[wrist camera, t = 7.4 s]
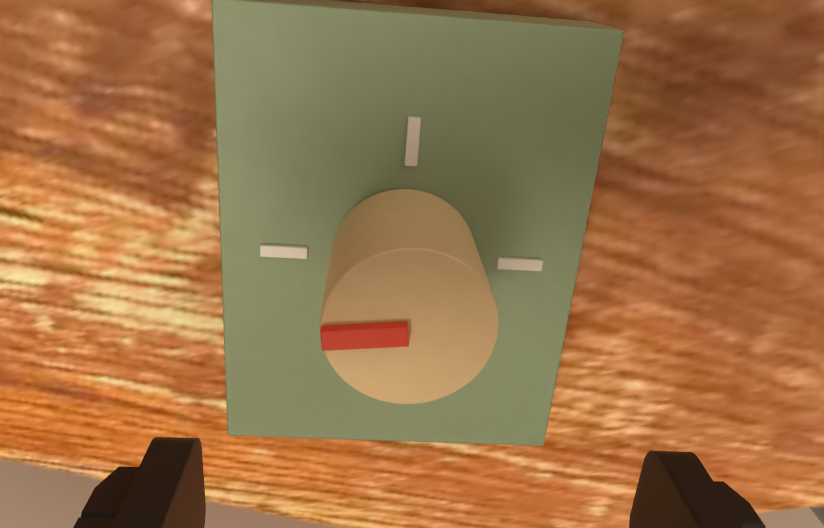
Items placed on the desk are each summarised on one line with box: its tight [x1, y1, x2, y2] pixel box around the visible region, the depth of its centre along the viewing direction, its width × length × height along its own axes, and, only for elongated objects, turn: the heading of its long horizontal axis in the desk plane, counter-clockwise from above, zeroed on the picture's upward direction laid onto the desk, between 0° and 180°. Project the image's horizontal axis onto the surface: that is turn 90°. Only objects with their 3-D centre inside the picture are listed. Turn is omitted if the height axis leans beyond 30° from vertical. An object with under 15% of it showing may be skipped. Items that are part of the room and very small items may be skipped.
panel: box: [211, 0, 624, 446], centre depth 22 cm, size 14×11×3 cm
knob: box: [320, 189, 499, 404], centre depth 19 cm, size 4×4×5 cm
